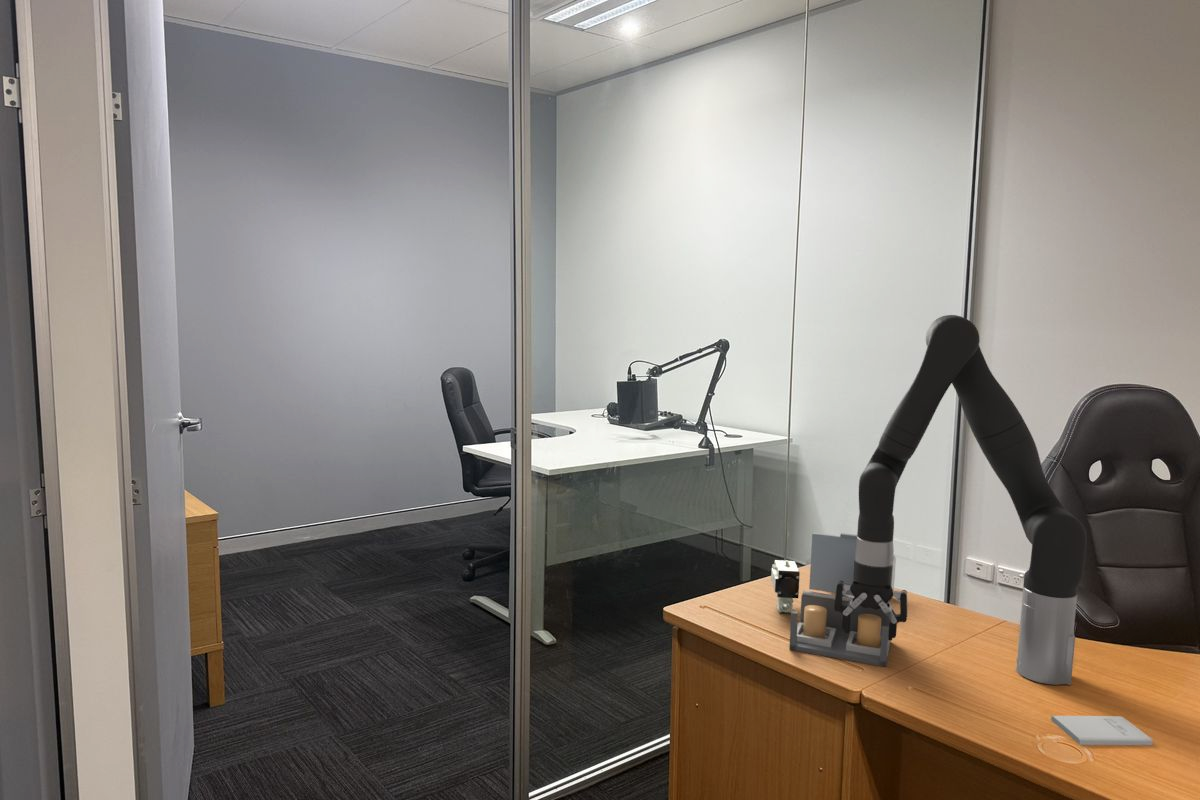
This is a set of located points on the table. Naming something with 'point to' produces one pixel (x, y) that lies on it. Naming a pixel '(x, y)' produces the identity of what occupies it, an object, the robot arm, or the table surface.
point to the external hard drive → (1101, 730)
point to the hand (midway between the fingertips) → (868, 635)
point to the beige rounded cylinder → (869, 630)
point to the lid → (832, 561)
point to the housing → (835, 630)
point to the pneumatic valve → (785, 583)
